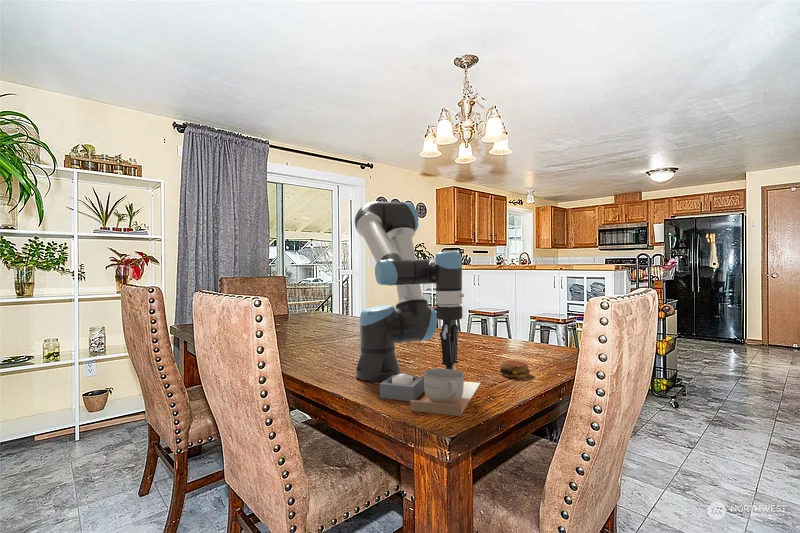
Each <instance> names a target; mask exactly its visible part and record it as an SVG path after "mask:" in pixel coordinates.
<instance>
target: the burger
mask: <svg viewBox="0 0 800 533" xmlns="http://www.w3.org/2000/svg"><path fill="white" fill-rule="evenodd" d="M499 372H500V373H501V375H503V376H504V377H506V378H516V379H519V378H521V379H526V378H528V377H529V376H530V373H531V372H530V368H529V365H528V363H526V362H524V361H520V360H517V359H516V360H514V359H507V360H503V361H502V362H501V363H500V365H499Z"/></svg>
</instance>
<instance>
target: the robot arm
mask: <svg viewBox="0 0 800 533" xmlns="http://www.w3.org/2000/svg"><path fill="white" fill-rule="evenodd" d="M354 226H355V229H356V231H357V233H358V234H359V236H361V237H362V238H364V240H365V243H366V245H367V246H368V248H369V250H370V252H371V255H372V256H373V258H374V260H375V262H376V264H375V266H374V276H375V281H376V282H377V284H379V285H381V286H396V292H397V297H398V301H397V303H396V304H395V306H394V305H393V304H385V305H377V306H371V307H367V308H365V309H363V310H362V311H361V312H360V315H359V316H360V317H359V328H360V330H359V331H360V332H359V334H360V335H359V337H360V338H359V339H360V355H359V358H358V360H357V365H356V368H355V377H356V378H357V379H358V378H359V380H361V379H362V381H366V380H367V381H368V382H383V381H384V380H386V379H387V378H389V377H390V376H392V375H398V374H401V373H402V372H401V367H400V364H399V360H398V357H397V354H396V344H399V343H402V344H403V343H410V342H418V343H419V342H420V343H421V342H422V341H428V340H430V339H432V338H433V337H434V335H435V333H436V330H437V327H438V320H441V321H442V325H441V328H440V329H441V330H440V332H439V337H440V344H441V346H440V347H441V356H442V357H441V358H442V363H441V365H444V369H452V370H456V364H459V361H458V345H459V344H458V343H459V341H458V340H459V338H458V337H459V329H460V328H459V325H458V324H457V321H458V320H462V319H463V306H462V304H463V298H464V297H465V294H464V293H463V291H462V290H463V263H462V254H461V253H460V252H459V251H440V252H437V253H436V254H435V256H434V257H435V259H434V258H430V259H429V258H428V259H427V258H426V259H416V253H415V248H414V243H413V242H414V241H413V237H414V236H415V235H416V232H417V230H418V228H419V214H418V211H417V209H416V207H415V206H414V205H413V204H412V203H409V202H404V201H399V202H397V201H396V202H395V201H378V200H377V201H376V200H375V201H370V202H367V203H365V204H364V205H362V206H361V207H360V208H359V209H358V210H357V213H356V214H355V217H354ZM428 284H431V285H432V284H434V285H435V304H436V305H437V306H436V307H435V308H434V307H433V306H429V302H428V300H427V299H426V298H424V296H423V292H422V288H421V287H422V286H421V285H428Z"/></svg>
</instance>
